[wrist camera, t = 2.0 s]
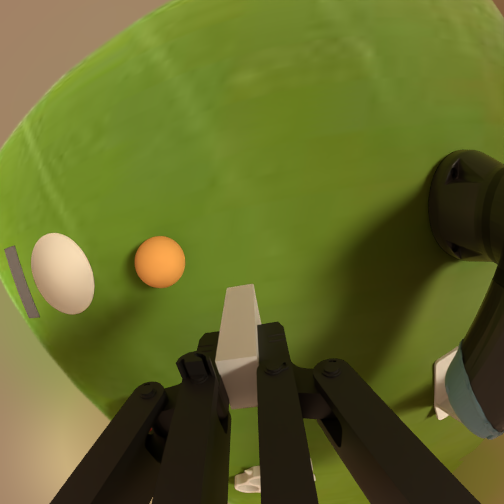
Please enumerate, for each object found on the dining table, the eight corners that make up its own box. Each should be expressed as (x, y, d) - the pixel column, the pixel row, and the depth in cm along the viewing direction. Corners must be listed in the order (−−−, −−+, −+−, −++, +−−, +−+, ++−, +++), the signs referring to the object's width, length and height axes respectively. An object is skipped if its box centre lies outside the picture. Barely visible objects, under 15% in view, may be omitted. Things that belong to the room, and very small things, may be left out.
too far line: (14, 245, 31) (13, 245, 31) (39, 316, 34) (39, 317, 34) (5, 249, 31) (4, 249, 31) (29, 317, 35) (29, 318, 34)
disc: (78, 224, 30) (77, 224, 30) (106, 310, 34) (105, 310, 34) (23, 242, 31) (22, 242, 31) (49, 315, 34) (48, 316, 34)
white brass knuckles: (260, 490, 49) (221, 470, 46) (327, 467, 47) (295, 445, 43) (260, 500, 46) (220, 482, 43) (329, 479, 43) (297, 459, 40)
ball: (183, 226, 31) (170, 238, 25) (194, 272, 32) (184, 292, 27) (139, 236, 31) (120, 249, 26) (152, 279, 32) (136, 299, 27)
